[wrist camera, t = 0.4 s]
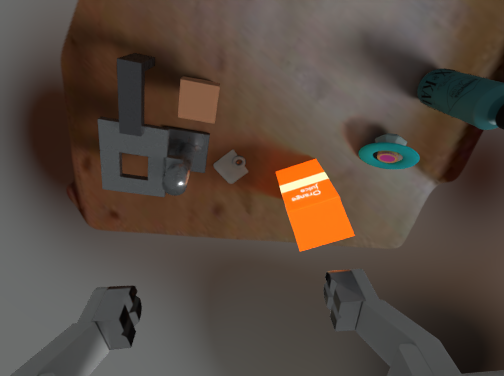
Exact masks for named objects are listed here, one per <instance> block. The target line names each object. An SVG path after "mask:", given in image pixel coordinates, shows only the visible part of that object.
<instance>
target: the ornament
mask: <svg viewBox="0 0 504 376" xmlns="http://www.w3.org/2000/svg"><path fill="white" fill-rule="evenodd" d="M406 144H407V141H405V140H404V139H403V138H402V137H400V136H399V135H397V134H389V133H387V134H385V135H382V136H380V137H377V138H375V143H371V144H368V145H365V146H364V147H362V148H361V149H360V150H359V157H360V159H362V160H363V161H364V162H366V163H367V164H369V165H372V166H375V167H379V168H384V169H404V168H409V167H411V166H414V165H415V164H416V163H418V161H419V159H420V158H419V155H418V153H417V152H416V151H415V150H413V149H412V148H410V147H407V146H406ZM377 151H378V155H377V159H378V160H377V159H375V158H374V157H373V153H375V152H377ZM399 154H401V155H402V156H403V159H402V160H401V161H398V156H399ZM397 161H398V162H397Z"/></svg>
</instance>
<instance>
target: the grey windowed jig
mask: <svg viewBox="0 0 504 376" xmlns="http://www.w3.org/2000/svg"><path fill="white" fill-rule="evenodd" d="M153 66H155V57H152V56H147V55H142V54H137V53H133V54H130V55H127V56H123V57H120V58H117V77H118V105H119V119H113V118H107V117H100V118H98V130H99V144H100V158H101V171H102V185H103V189H106V190H114V191H122V192H129V193H137V194H145V195H152V196H160V197H165V195H166V192H167V193H168V194H170V195H180V194H182V193H183V192H184V191H185V190H186V186H187V183H188V179H189V175H190V172H191V171H195V172H202V173H205V167H206V159H207V152H208V144H209V136H210V133H204V132H198V131H192V130H186V129H180V128H174V127H168V126H167V127H161V126H155V125H149V124H144V85H145V71H146V70H148V69H150V68H152V67H153ZM122 153H128V154H135V155H142V156H148V177H145V176H137V175H130V174H123V173H122Z"/></svg>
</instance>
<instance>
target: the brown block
mask: <svg viewBox="0 0 504 376" xmlns="http://www.w3.org/2000/svg"><path fill="white" fill-rule="evenodd" d="M219 88H220V83H215V82H212V81H207V80H202V79H195V78H190V77H185V76H183V77H182V78H181V81H180V95H179V109H178V117H180V118H185V119H191V120H197V121H203V122H208V123H214V124H215V117H216V110H217V103H218V95H219Z"/></svg>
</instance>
